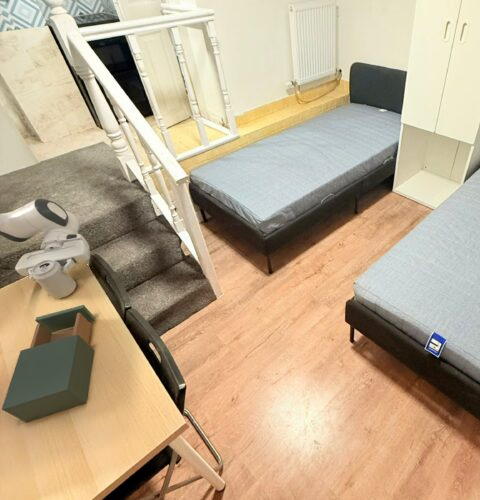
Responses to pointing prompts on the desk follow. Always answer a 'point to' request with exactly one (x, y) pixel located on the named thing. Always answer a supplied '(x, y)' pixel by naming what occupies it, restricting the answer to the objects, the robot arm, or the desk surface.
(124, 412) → the desk surface
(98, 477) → the desk surface
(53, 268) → the can
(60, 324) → the drawer
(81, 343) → the cabinet
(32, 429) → the desk surface
